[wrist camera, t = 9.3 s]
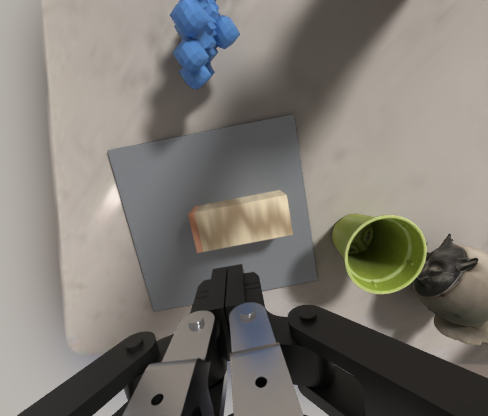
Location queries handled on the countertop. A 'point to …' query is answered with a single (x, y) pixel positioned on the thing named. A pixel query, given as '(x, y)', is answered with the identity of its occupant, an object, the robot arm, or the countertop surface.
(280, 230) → the maple block
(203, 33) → the grapes
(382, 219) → the plant pot
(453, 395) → the robot arm
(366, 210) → the countertop surface
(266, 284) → the rubber mat
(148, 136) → the countertop surface
